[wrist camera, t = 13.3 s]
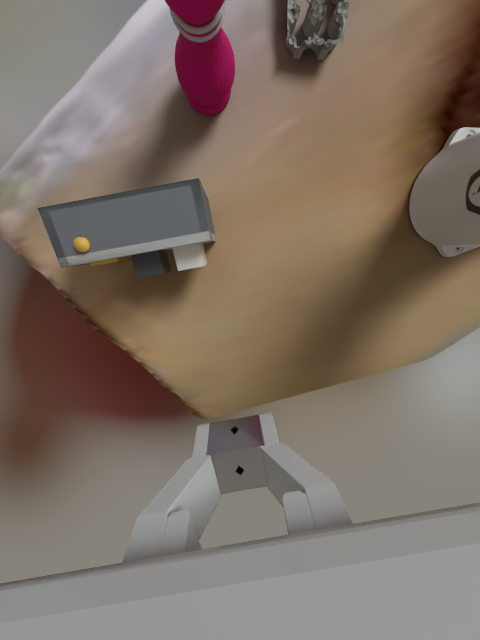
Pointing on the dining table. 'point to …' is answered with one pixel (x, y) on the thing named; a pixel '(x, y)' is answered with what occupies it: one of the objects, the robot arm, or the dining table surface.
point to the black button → (151, 263)
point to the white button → (190, 256)
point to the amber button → (109, 261)
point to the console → (129, 223)
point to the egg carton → (316, 27)
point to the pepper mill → (203, 53)
